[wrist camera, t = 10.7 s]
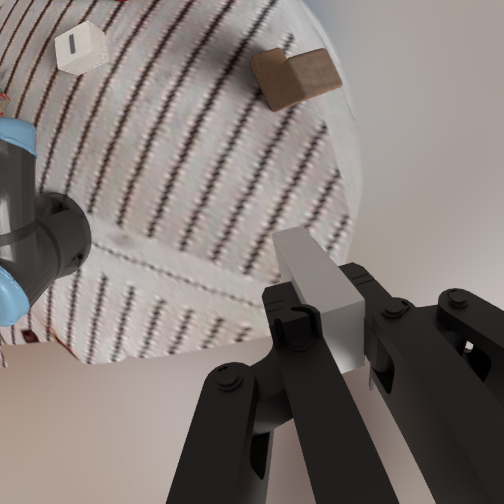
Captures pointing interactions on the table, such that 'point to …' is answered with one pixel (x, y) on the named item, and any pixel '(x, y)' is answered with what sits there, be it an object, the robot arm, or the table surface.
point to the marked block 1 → (81, 49)
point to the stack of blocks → (3, 102)
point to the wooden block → (294, 76)
